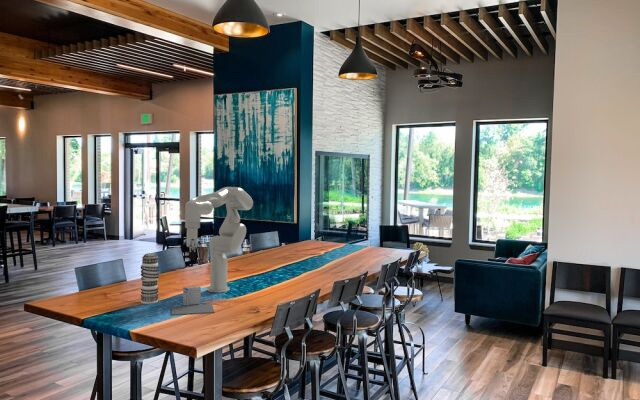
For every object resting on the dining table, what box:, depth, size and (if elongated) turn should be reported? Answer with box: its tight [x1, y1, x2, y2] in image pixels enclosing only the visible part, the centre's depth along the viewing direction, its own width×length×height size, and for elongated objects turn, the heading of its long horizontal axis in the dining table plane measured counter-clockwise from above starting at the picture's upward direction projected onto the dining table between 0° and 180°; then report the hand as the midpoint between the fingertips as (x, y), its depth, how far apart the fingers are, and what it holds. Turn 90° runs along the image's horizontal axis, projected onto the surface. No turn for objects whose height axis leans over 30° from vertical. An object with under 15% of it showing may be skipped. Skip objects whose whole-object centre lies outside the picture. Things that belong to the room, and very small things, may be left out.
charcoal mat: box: [170, 303, 215, 316], centre depth 236 cm, size 14×20×1 cm
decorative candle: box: [140, 252, 160, 305], centre depth 248 cm, size 9×9×25 cm
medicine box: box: [182, 285, 202, 306], centre depth 245 cm, size 8×4×9 cm, turn 141°
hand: (192, 258), depth 251 cm, fingers open, 7 cm apart
